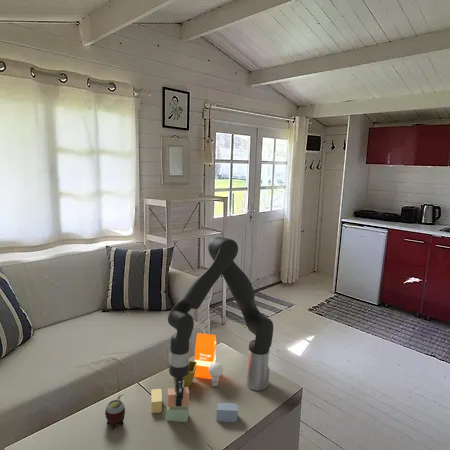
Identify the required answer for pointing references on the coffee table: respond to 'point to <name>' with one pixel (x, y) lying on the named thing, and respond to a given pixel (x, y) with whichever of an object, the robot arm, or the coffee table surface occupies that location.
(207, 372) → the orange juice
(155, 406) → the ochre brick
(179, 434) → the coffee table surface
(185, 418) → the sage brick
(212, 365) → the lightbulb
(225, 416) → the slate brick
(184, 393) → the terracotta brick
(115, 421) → the mate gourd
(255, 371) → the robot arm
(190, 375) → the flower pot
